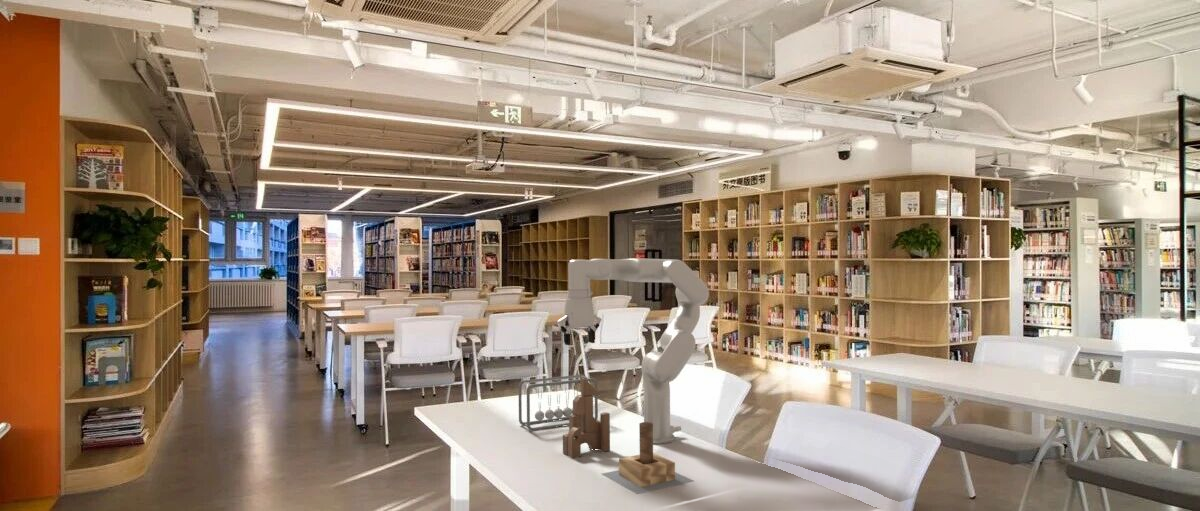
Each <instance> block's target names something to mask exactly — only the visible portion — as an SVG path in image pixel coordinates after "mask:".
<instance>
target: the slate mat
mask: <svg viewBox="0 0 1200 511" xmlns="http://www.w3.org/2000/svg"><path fill="white" fill-rule="evenodd" d="M601 475H602V476H604V477H606V478H608V479H609V480H611V481H612V482H615V483H616V484H619V485H620V486H622V487H624V488H625V489H628V490H629V491H631V492H633V493H634V494H636V495H640V494H643V493H648V492H652V491H657V490H661V489H665V488H666V489H667V488H670V487H674V486H675V487H676V486H679V485H684V484H688V483H693V482H694V480H693V479H692V478H688V477H686V476H685V475H682V474H681V473H678V472H677V471H675V480H670V481H666V482H661V483H657V484H653V485H648V486H644V487H640V486H638V485H637V484H635V483H633V482H631V481H629V480H627V479H625V478H624V477H622V476H620V475H619V469H617V470H612V471H608V472H603V473H602V472H601Z"/></svg>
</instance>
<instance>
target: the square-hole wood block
mask: <svg viewBox="0 0 1200 511" xmlns="http://www.w3.org/2000/svg"><path fill="white" fill-rule="evenodd" d="M618 470H619V475H620V476H622V477H624V478H625V479H627V480H629V481H631V482H633V483H635V484H637V485H638V486H640V487H644V486H648V485H653V484H657V483H661V482H666V481H670V480H675V472H676V463H675V462H674V461H672V460H671V459H667V458H665V457H663V456H661V455H659V454H656V453H654V452H653V463H650V464H645V465H644V464H642V463H640V454H637V455H636V454H635V455H631V456H626V457H620V458H618Z"/></svg>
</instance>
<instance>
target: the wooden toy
mask: <svg viewBox="0 0 1200 511" xmlns="http://www.w3.org/2000/svg"><path fill="white" fill-rule="evenodd" d="M580 379H581V382H580V394H576V395H575V396H574V398H573V400H572V408H573V414H571V415H569V419H568V423H569V426H568V429H569V430H568V433H563V435H562V453H564V454H563V455H565V454H566V455H565V456H568V457H570V458H571V457H575V458H579V457H578V456H580V457H581V452H582V451H581V449H582V448H581V445H583V444H586V445H587V446H588V449H589V448H591V449H593V450H595V449H600V451H601V450H602V451H601V452H603V451H608V452H609V450H611V427H610V426H611V416H610V413H609V412H605V411H604V412H601V413H600V414H599V416H600V417H599V418H600V419H599V420H600V421H599V420H595V416H594V396H595V395H600V392H599V391H597V390H598V389H597V390H596V389H595V386H593V385H592V384H591V383H590V381H587V380H586V379H584V378H583V377H580ZM591 449H590V450H591ZM593 450H592V451H593ZM595 451H596V450H595Z"/></svg>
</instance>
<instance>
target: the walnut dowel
mask: <svg viewBox="0 0 1200 511" xmlns="http://www.w3.org/2000/svg"><path fill="white" fill-rule="evenodd" d="M638 426H639V430H638V431H639V455H640V463H642V464H644V465H645V464H650V463H653V453H654V443H653V423H650V422H644V421H643V422H640V423H639V425H638Z"/></svg>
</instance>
